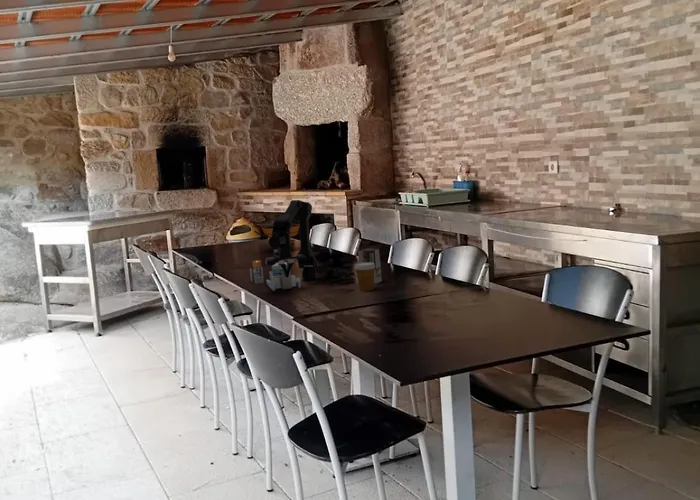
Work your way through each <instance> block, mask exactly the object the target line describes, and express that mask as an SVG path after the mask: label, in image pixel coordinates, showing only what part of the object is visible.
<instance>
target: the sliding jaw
mask: <svg viewBox="0 0 700 500" xmlns="http://www.w3.org/2000/svg"><path fill="white" fill-rule="evenodd" d="M291 270H292V269H291ZM291 270H290V273H289V276H288V277H287V278H286V276H285V273H284V271H281V274H282V276H281V277H274V281H269V283H270V285H275V290H276V289H282V290H288V289H289V290H291V289H293V288H294V287H297V286H296V282H300V283H301V282H302V280H301V279H302V277H296V275H295V274H292V271H291Z"/></svg>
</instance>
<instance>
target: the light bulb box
mask: <svg viewBox="0 0 700 500" xmlns="http://www.w3.org/2000/svg"><path fill="white" fill-rule="evenodd" d="M286 262H287V261H285V262H284V263H285V264H286V270H287V263H286ZM290 270H292V268H291V269H290ZM271 271H272V273H273V281H274V277H281V276H282V274H281V271H283V269H282V267H281V266H279V265H278V262H275V264H274V265H271ZM274 286H275V285H274Z"/></svg>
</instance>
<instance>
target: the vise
mask: <svg viewBox="0 0 700 500" xmlns="http://www.w3.org/2000/svg"><path fill="white" fill-rule="evenodd" d="M263 269H264V268H263V267H260V273H256V274H254V273H253V270H252V268H249V274H250V282H253V279H254V284H263V283H264V280H265V279H264V270H263ZM260 274H261V276H260ZM265 281H266V285H267V286H268V287H269V288H270V290H272V291H273V292H274V291H276V288H275V286H274V285H270V283H269V281H273V273H272V270H271V271H269V279H266V280H265ZM295 287H297V288H302V284H301V282H296V286H295Z"/></svg>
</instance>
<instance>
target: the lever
mask: <svg viewBox="0 0 700 500" xmlns="http://www.w3.org/2000/svg"><path fill="white" fill-rule="evenodd" d="M252 267H253V268H254V269H253V268H252V269H253V270H252V274H253V275H254V274H256V273H259V274H261V269H260V268H263V267H262V260H261V259H257V260H252Z"/></svg>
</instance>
